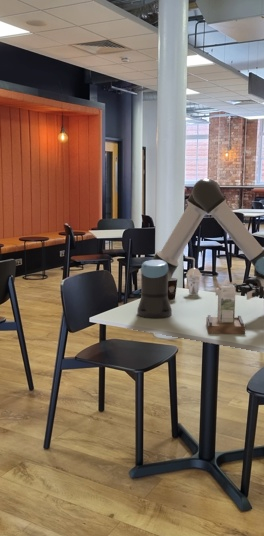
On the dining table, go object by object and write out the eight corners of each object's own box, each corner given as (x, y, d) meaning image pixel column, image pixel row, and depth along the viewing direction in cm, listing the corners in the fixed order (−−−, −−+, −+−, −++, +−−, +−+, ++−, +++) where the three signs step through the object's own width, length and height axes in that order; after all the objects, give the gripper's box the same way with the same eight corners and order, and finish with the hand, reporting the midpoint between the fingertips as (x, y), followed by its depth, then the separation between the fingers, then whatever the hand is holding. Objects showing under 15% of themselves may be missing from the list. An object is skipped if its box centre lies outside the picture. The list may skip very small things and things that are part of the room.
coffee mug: (177, 296, 271) (177, 277, 269) (177, 300, 262) (177, 280, 261) (154, 296, 272) (154, 277, 270) (153, 300, 263) (153, 280, 262)
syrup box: (231, 319, 212) (232, 284, 210) (234, 323, 206) (235, 286, 204) (217, 319, 212) (218, 284, 210) (220, 323, 206) (221, 286, 204)
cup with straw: (201, 296, 273) (202, 257, 270) (183, 295, 274) (184, 257, 271) (202, 292, 281) (202, 255, 278) (184, 292, 282) (185, 255, 279)
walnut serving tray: (208, 333, 203) (208, 323, 203) (206, 324, 217) (206, 314, 216) (245, 334, 202) (245, 323, 201) (240, 324, 216) (241, 315, 215)
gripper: (281, 298, 221) (261, 307, 204) (226, 291, 236) (203, 299, 219) (281, 280, 220) (261, 288, 203) (227, 274, 235) (204, 281, 218)
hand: (231, 294), depth 211 cm, fingers open, 13 cm apart
